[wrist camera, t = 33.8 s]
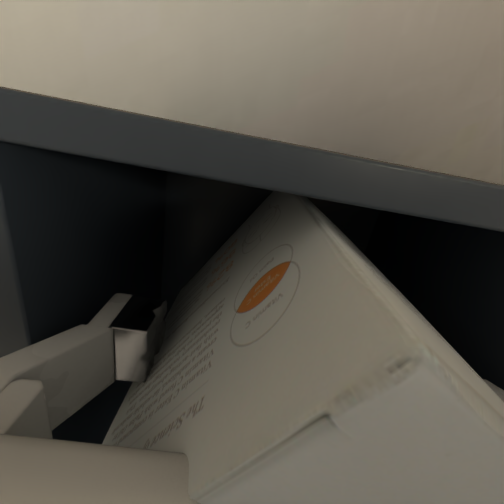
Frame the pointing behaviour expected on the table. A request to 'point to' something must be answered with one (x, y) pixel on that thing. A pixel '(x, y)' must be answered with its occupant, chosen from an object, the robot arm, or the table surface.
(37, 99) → the open box
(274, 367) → the small box
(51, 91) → the table surface
